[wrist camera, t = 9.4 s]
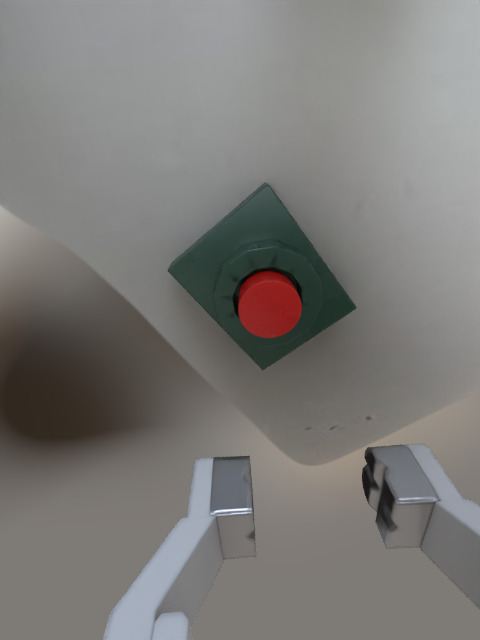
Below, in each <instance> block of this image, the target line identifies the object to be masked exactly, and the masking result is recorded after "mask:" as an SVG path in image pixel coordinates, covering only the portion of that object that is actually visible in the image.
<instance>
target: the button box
mask: <svg viewBox="0 0 480 640" xmlns="http://www.w3.org/2000/svg"><path fill="white" fill-rule="evenodd" d="M261 271H276V272H279V273H282V274H284V275H285V276H287V277H288V278H289V279H290V280H291V281H292V283H293V284H294V286H295V288H296V291H297V293H298V295H299V297H300V299H301V304H302V311H301V316H300V318H299V320H298V322H297V324H296V325H295V326H294V327H293V328H292V329H291V330H290V331H289V332H287V333H285V334H283V335H281V336H278V337H274V338H264V337H259V336H256V335H254V334H252V333H251V332H249V331H248V330H247V329H246V328H245V327H244V326H243V324H242V323H241V321H240V318H239V313H238V294H239V290H240V288H241V286H242V284H243V283H244V282H245V281H246V280H247V279H248V278H249V277H250V276H252V275H253V274H255V273H258V272H261ZM168 272H169V273H170V274H171V275H172V276H173V277H174V278H175V279H176V280H177V281H178V282H179V283H180V284H181V285H182V286H183V287H184V288H185V289H186V290H187V291H188V293H189V294H190V295H191V296H192V297H193V298H194V299H195V300H196V301H197V302H198V303H199V304H200V305H201V306H202V307H203V308H204V309H205V310H206V311H207V312H208V313H209V314H210V316H211V317H212V318H213V319H214V320H215V321H216V322H217V323H218V324H219V325H220V326H221V327H222V328H223V329H224V330H225V331H226V332H227V333H228V334H229V335H230V336H231V338H232V339H233V340H234V341H235V342H236V343H237V344H238V345H239V346H240V347H241V348H242V349H243V350H244V351H245V352H246V353H247V354H248V355H249V356H250V357H251V358H252V359H253V361H254V362H255V363H256V364H257V365H258V366H259V367H260V368H261V369H262V370H264V369H265V368H267V367H268V366H270V365H272V364H273V363H275V362H276V361H278V360H279V359H281V358H282V357H284V356H285V355H287V354H288V353H290V352H291V351H293V350H294V349H296V348H297V347H299V346H300V345H302V344H303V343H305V342H306V341H308V340H309V339H311V338H312V337H314V336H315V335H317V334H318V333H320V332H321V331H323V330H324V329H326V328H327V327H329V326H330V325H332V324H333V323H335V322H336V321H338V320H339V319H341V318H343V317H344V316H346V315H347V314H349V313H350V312H352V311H353V310H355V309H356V306H355V305H354V303H353V302H352V301H351V299H350V298H349V296H348V295H347V294H346V292H345V291H344V289H343V288H342V287H341V285H340V284H339V282H338V281H337V280H336V278H335V277H334V275H333V274H332V273H331V271H330V270H329V268H328V267H327V265H326V264H325V263H324V261H323V260H322V258H321V257H320V256H319V254H318V253H317V251H316V250H315V249H314V247H313V246H312V244H311V243H310V242H309V240H308V239H307V237H306V236H305V235H304V233H303V232H302V230H301V229H300V228H299V226H298V225H297V223H296V222H295V221H294V219H293V218H292V216H291V215H290V214H289V212H288V211H287V209H286V208H285V206H284V205H283V204H282V202H281V201H280V199H279V198H278V197H277V195H276V194H275V192H274V191H273V190H272V188H271V187H270V185H269V184H267V183H264V184H263V185H262V186H261V187H259V188H258V189H257V190H256V191H255V192H254V193H252V194H251V195H250V196H249V197H248V198H247V199H245V200H244V201H243V202H242V203H241V204H240V205H238V206H237V207H236V208H235V209H234V210H233V211H231V212H230V213H229V214H228V215H227V216H226V217H224V218H223V219H222V220H221V221H220V222H219V223H217V224H216V225H215V226H214V227H213V228H212V229H211V230H209V231H208V232H207V233H206V234H205V235H204V236H202V237H201V238H200V239H199V240H198V241H197V242H195V243H194V244H193V245H192V246H191V247H190V248H188V249H187V250H186V251H185V252H184V253H183V254H181V255H180V256H179V257H178V258H177V259H176V260H174V261H173V262H172V264H171V265H170V267H169V269H168Z"/></svg>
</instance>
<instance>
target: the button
mask: <svg viewBox="0 0 480 640" xmlns="http://www.w3.org/2000/svg"><path fill="white" fill-rule="evenodd" d="M301 311H302V304H301V299H300V297H299V295H298V293H297V291H296V288H295V286H294V284H293V283H292V281H291V280H290V279H289V278H288V277H287V276H285V275H284V274H282V273H279V272H276V271H261V272H258V273H255V274H253V275H252V276H250V277H249V278H248V279H247V280H246V281H245V282H244V283H243V284H242V286H241V288H240V290H239V294H238V313H239V318H240V321H241V323H242V324H243V326H244V327H245V328H246V329H247V330H248V331H249V332H251V333H252V334H254V335H256V336H259V337H264V338H274V337H278V336H281V335H283V334H285V333H287V332H289V331H290V330H291V329H292V328H293V327H294V326H295V325H296V324H297V322H298V320H299V318H300V316H301Z"/></svg>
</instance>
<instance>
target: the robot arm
mask: <svg viewBox="0 0 480 640" xmlns="http://www.w3.org/2000/svg"><path fill="white" fill-rule="evenodd" d="M365 459H366V462H367V465H366V466H365V467H364V468H363V472H362V482H363V488H364V492H365V496H366V498H367V501H368V504H369V505H370V506H371V507H372V508H373V509H374V510H375V511H377V517H376V524H377V527H378V529H379V531H380V534H381V537H382V539H383V542H384V544H385V547H386V549H391V548H421V551H423V552H424V554H425V555H426V556H427V557H428V558H429V559H430V560H431V561H432V562H433V563H434V564H435V565H436V566H437V567H438V568H439V569H440V570H441V571H442V572H443V573H444V574H445V575H446V576H447V577H448V578H449V579H450V580H451V581H452V582H453V583H454V584H455V585H456V586H457V587H458V588H459V589H460V590H461V591H462V592H463V593H464V594H465V595H466V596H467V597H468V598H469V599H470V600H471V601H472V602H473V603H474V604H475V605H476V606H477V607H478V608H479V609H480V506H479V505H478V504H476V503H475V502H473V501H472V500H464V499H463V497H462V496H461V494H460V493H459V491H458V490H457V489H456V487H455V486H454V484H453V483H452V481H451V480H450V478H449V477H448V476H447V474H446V472H445V471H444V470H443V468H442V467H441V465H440V464H439V462H438V461H437V459H436V458H435V456H434V455H433V454H432V452H431V451H430V449H429V448H428V446H426V445H425V444H411V445H393V446H381V447H368V448H367V449H366V451H365ZM247 557H256V543H255V525H254V508H253V494H252V479H251V467H250V456H239V457H238V456H237V457H213V458H196V460H195V462H194V467H193V475H192V482H191V490H190V498H189V506H188V513H187V517H185V518H181V519H180V520H179V522H178V523H177V524H176V526H175V527H174V528H173V530H172V531H171V532H170V534H169V535H168V536H167V538H166V539H165V540H164V542H163V543H162V544H161V546H160V547H159V549H158V550H157V551H156V552H155V554H154V555H153V556H152V558H151V559H150V561H149V562H148V563H147V565H146V566H145V567H144V569H143V570H142V571H141V573H140V574H139V575H138V577H137V578H136V579H135V581H134V582H133V583H132V585H131V586H130V588H129V589H128V590H127V591H126V593H125V594H124V595H123V597H122V598H121V599H120V601H119V602H118V604H117V605H116V606H115V608H114V609H113V610H112V612H111V613H110V616H109V619H108V623H107V627H106V630H105V634H104V637H103V640H194V637H193V633H192V630H191V627H192V624H193V623H194V621H195V619H196V617H197V615H198V613H199V611H200V609H201V607H202V605H203V603H204V601H205V599H206V597H207V594H208V593H209V591H210V588H211V586H212V585H213V582H214V580H215V578H216V576H217V574H218V572H219V570H220V568H221V566H222V564H223V560H225V559H236V558H247Z"/></svg>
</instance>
